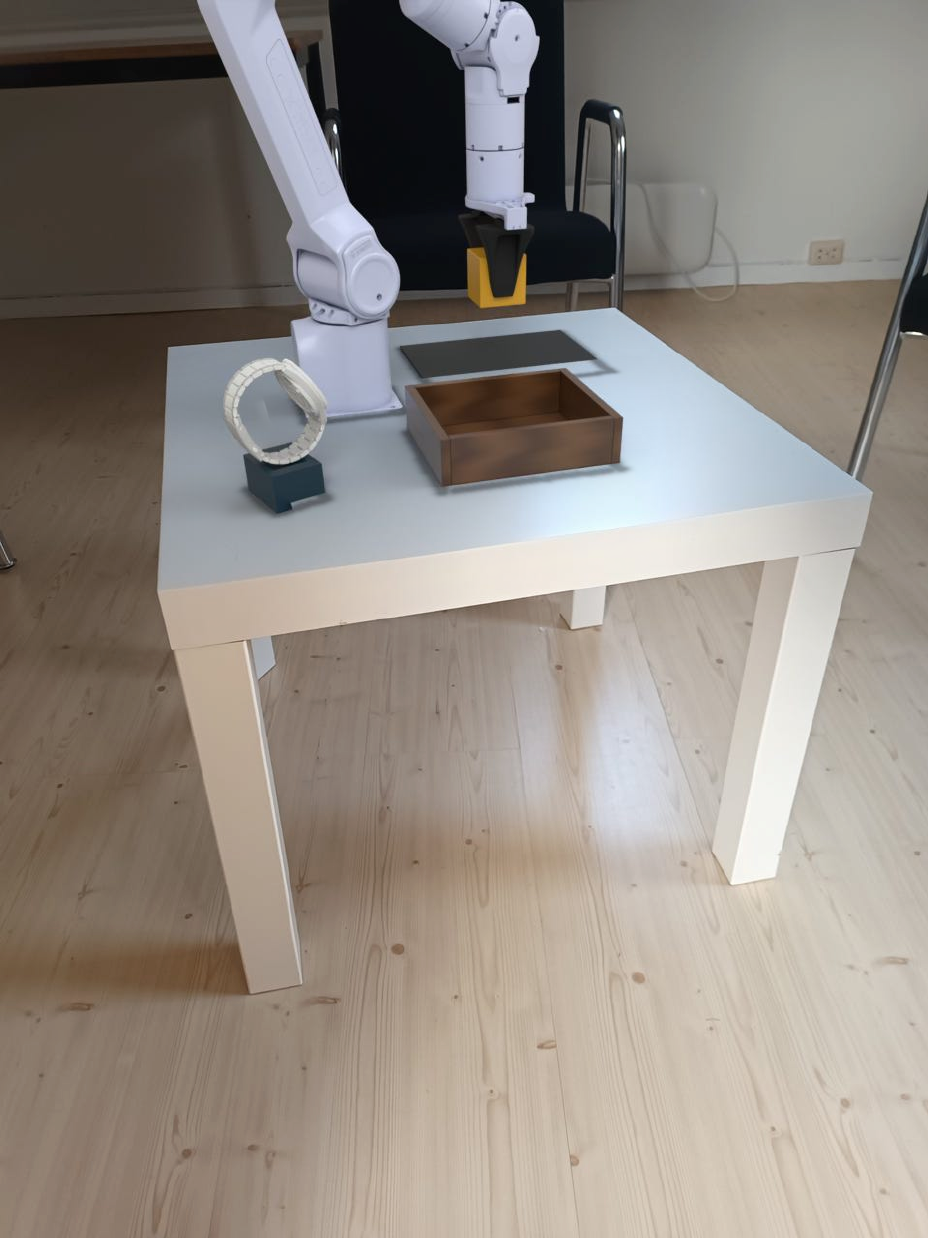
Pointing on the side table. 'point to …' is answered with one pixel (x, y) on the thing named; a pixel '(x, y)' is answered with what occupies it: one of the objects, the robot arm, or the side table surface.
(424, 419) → the box
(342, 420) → the side table surface
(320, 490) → the watch
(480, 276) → the cube
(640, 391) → the side table surface
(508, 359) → the mat
